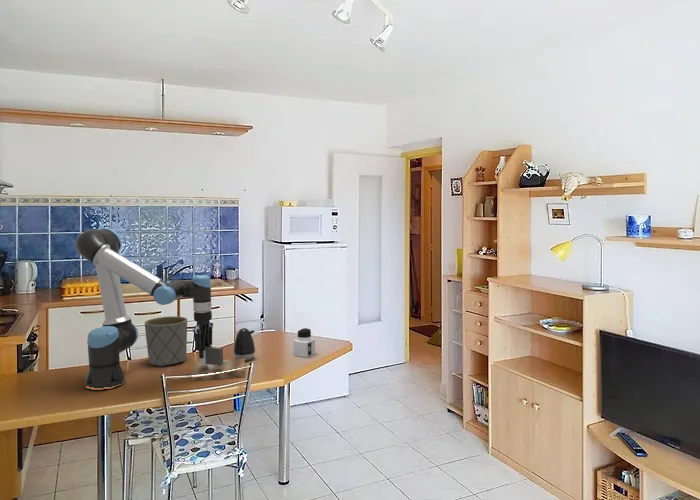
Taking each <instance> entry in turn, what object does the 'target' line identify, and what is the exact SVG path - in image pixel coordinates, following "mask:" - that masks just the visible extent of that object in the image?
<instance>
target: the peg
mask: <svg viewBox="0 0 700 500" xmlns="http://www.w3.org/2000/svg"><path fill="white" fill-rule="evenodd" d="M223 349H224V348H223V347H216V346H215V347H214V346H212V347H206V346H204V350H205V351H206V364H207V367H208V370H215V369H216V366H217V365H222V364H223V362H225V361H223V360H224V350H223Z"/></svg>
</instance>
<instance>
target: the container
mask: <svg viewBox="0 0 700 500" xmlns="http://www.w3.org/2000/svg"><path fill="white" fill-rule="evenodd" d="M296 334H297V339H294V340H293V356H294V357H301V358H305V359H306V358H309V357H311V356H314V355H315V354H316V339H315V338H312V331H311V329H310V328H307V327H304V328H303V327H302V328H299V329H298V330H297V333H296Z"/></svg>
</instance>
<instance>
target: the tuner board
mask: <svg viewBox="0 0 700 500" xmlns="http://www.w3.org/2000/svg"><path fill="white" fill-rule="evenodd" d="M223 361H225V362H223V364H222V365H217V366H216V369H215V370H208V367H207V364H206V365H200V363H199V360H198V361H195V362H194V365H193V369H192V372H191V376H192V375H196V374H208V373H216V372H223V371H228V370H232V369H237V368H242V367H245V369H246V361H245V359H237V358H233V359H230V358H229V359H223ZM245 369H243V370H235V371H231V372H224V373H220V374H215V375H210V376H205V377H197V378H192V377H191V381H192V382H194V381H196V382H197V381H209V380H224V379H225V380H226V379H234V378H233V377H241V378H245V377H246V376H245V375H246V372H245V371H246V370H245Z"/></svg>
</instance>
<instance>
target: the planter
mask: <svg viewBox="0 0 700 500" xmlns="http://www.w3.org/2000/svg"><path fill="white" fill-rule="evenodd" d="M144 329H145V339H146V347H147V356H148V357H147V358H148V364H151V365H153V366H156V367H159V368H163V367H164V366H167V365H174V364H179V363H181V362H183V363H185V362H186V361H187V351H188V350H187V347H188V345H187V344H188V318H187V317H185V316H184V317H183V316H176V315H175V316H173V315H172V316H170V315H169V316H160V317H155V318H154V317H153V318H150V319H148V320H146V321H144Z"/></svg>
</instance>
